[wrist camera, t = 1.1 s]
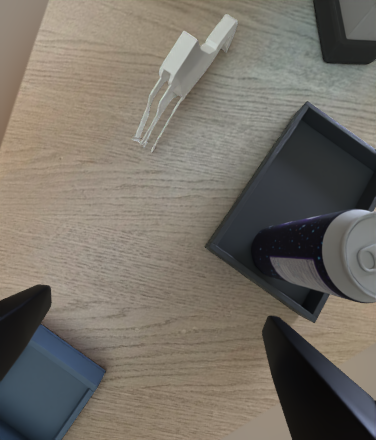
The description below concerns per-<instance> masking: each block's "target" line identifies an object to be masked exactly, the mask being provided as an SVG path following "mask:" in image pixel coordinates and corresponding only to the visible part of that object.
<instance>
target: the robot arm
mask: <svg viewBox="0 0 376 440" xmlns="http://www.w3.org/2000/svg"><path fill="white" fill-rule="evenodd" d="M51 303H52V300H51V287H50V286H48V285H41V284H38V285H35V286H33V287H31V288H29V289H26V290H24V291H22V292H19V293H17V294H15V295H12V296H10V297H8V298H5V299H3V300H1V301H0V382H1V381H2V379H3V378H4V377H5V375H6V374H7V373H8V371H9V370H10V369H11V367H12V366H13V365H14V363H15V362H16V360H17V359H18V358H19V356H20V355H21V354H22V352H23V351H24V349H25V348H26V346H27V345H28V343H29V342H30V340H31V338H32V337H33V335H34V333H35V332H36V330H37V329H38V327H39V325H40V324H41V322H42V320H43V319H44V317H45V315H46V314H47V312H48V310H49V309H50V307H51ZM262 336H263V341H264V345H265V349H266V354H267V358H268V362H269V367H270V371H271V375H272V378H273V382H274V385H275V388H276V391H277V394H278V397H279V400H280V403H281V406H282V410H283V413H284V416H285V419H286V422H287V425H288V428H289V431H290V434H291V437H292V440H376V401H375V400H373V398H372V397H371V396H370V395H369V394H367V393H366V392H365V391H364V390H363V389H362V388H361V387H359V386H358V385H357V384H356V383H355V382H354V381H352V380H351V379H350V378H349V377H348V376H347V375H345V374H344V373H343V372H342V371H341V370H340V369H339V368H337V367H336V366H335V365H334V364H333V363H332V362H330V361H329V360H328V359H327V358H326V357H325V356H324V355H322V354H321V353H320V352H319V351H318V350H317V349H315V348H314V347H313V346H312V345H311V344H310V343H308V342H307V341H306V340H305V339H304V338H303V337H302V336H300V335H299V334H298V333H297V332H296V331H295V330H293V329H292V328H291V327H290V326H289V325H288V324H287V323H285V322H284V321H283V320H282V319H281V318H279V317H277V316H268V317H267V320H266V322H265V325H264V327H263V330H262Z"/></svg>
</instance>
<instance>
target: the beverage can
mask: <svg viewBox="0 0 376 440" xmlns="http://www.w3.org/2000/svg"><path fill="white" fill-rule="evenodd" d="M251 253H252V258H253V261H254V263H255V265H256V267H257V268H258V269H259V270H260V271H261V272H262V273H263V274H265V275H267V276H269V277H272V278H276V279H279V280H282V281H286V282H289V283H293V284H296V285H300V286H303V287H307V288H310V289H314V290H317V291H321V292H324V293H328V294H331V295H334V296H338V297H341V298H345V299H348V300H352V301H355V302H360V303H374V302H376V212H370V211H367V210H362V209H349V210H344V211H340V212H335V213H330V214H326V215H321V216H316V217H311V218H307V219H302V220H297V221H292V222H288V223H283V224H278V225H274V226H269V227H266V228H264V229H262V230H261V231H260V232H258V234H257V235H256V236H255V238H254V240H253V243H252V248H251Z"/></svg>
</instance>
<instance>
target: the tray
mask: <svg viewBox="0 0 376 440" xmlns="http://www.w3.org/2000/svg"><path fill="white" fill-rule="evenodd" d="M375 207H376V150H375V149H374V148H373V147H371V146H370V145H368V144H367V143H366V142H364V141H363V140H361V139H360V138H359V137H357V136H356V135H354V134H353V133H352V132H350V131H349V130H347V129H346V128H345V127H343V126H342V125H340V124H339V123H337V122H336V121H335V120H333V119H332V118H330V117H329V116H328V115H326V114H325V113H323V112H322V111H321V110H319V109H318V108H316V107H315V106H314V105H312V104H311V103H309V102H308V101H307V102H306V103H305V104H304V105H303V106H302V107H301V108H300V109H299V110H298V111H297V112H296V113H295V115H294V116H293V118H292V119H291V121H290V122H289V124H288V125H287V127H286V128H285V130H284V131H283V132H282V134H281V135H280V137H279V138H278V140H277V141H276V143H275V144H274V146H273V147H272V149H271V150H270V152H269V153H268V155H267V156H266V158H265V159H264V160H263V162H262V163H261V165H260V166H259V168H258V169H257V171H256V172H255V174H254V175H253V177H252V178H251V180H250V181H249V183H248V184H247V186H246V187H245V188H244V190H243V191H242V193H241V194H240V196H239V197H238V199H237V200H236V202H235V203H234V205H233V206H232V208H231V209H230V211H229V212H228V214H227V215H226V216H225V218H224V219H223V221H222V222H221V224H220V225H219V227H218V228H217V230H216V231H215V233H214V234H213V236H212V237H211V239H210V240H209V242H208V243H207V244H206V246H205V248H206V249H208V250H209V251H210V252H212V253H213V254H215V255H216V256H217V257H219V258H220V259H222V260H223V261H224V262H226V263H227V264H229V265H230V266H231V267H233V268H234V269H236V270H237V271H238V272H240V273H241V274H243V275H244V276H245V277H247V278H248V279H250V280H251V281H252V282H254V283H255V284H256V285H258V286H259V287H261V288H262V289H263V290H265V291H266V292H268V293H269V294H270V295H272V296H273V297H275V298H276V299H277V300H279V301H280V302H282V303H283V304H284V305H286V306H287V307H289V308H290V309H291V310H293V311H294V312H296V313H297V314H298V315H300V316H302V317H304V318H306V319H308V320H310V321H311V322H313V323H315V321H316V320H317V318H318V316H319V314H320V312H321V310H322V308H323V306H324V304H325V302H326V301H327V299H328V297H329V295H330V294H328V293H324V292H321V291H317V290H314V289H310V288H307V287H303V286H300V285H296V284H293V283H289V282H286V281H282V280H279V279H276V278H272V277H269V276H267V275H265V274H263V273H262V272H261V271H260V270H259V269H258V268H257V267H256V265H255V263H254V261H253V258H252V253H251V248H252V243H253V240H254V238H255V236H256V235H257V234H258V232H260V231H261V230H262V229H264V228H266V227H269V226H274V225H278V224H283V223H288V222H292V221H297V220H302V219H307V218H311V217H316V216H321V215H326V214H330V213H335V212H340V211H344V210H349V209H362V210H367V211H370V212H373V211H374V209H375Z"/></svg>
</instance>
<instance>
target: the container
mask: <svg viewBox="0 0 376 440" xmlns="http://www.w3.org/2000/svg"><path fill="white" fill-rule="evenodd" d="M314 5H315V11H316V17H317V23H318V29H319V34H320V40H321V46H322V52H323V58H324V60H325V61H326V62H330V63H354V64H368V63H371V62H373V61H374V60H375V59H376V0H314Z"/></svg>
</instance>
